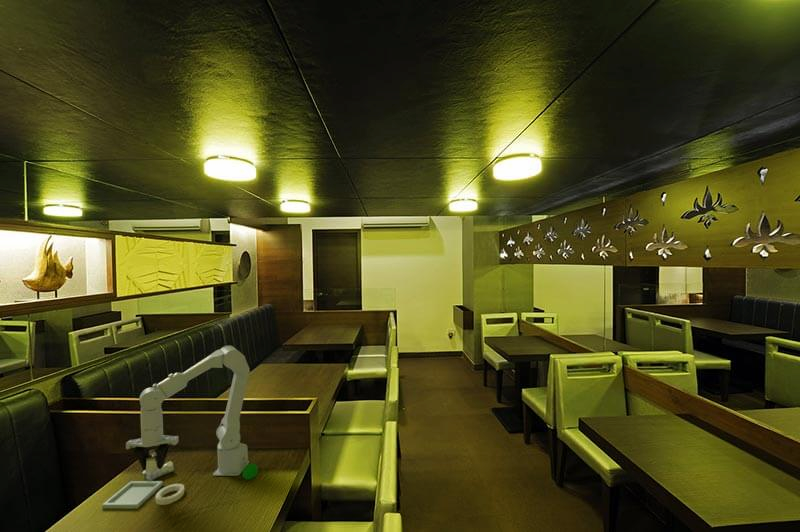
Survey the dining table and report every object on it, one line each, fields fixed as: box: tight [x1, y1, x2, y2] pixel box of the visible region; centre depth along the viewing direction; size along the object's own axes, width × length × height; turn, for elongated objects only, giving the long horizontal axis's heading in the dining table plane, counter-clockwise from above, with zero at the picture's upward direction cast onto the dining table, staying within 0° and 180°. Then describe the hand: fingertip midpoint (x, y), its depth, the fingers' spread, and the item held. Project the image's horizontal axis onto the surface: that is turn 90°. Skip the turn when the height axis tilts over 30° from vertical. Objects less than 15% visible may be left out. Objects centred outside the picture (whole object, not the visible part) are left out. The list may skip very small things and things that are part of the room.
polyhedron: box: [241, 462, 259, 480], centre depth 120 cm, size 5×5×5 cm
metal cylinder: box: [145, 451, 161, 480], centre depth 111 cm, size 4×4×6 cm
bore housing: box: [155, 483, 185, 506], centre depth 111 cm, size 8×8×2 cm
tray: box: [101, 480, 164, 510], centre depth 112 cm, size 11×11×1 cm
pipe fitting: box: [141, 460, 174, 481], centre depth 123 cm, size 8×4×7 cm
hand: (153, 467), depth 111 cm, fingers closed on metal cylinder, 4 cm apart
